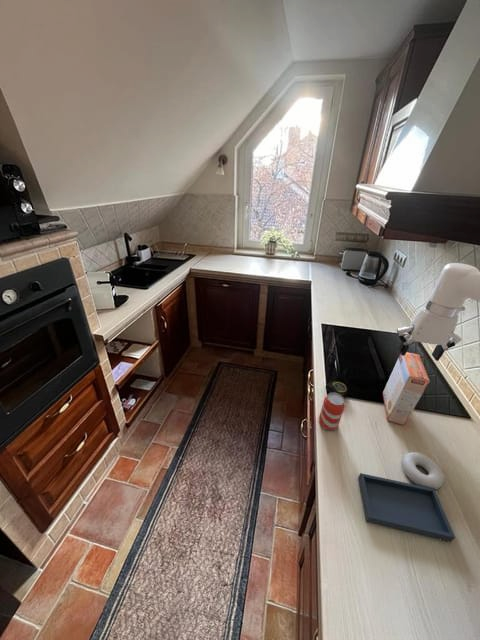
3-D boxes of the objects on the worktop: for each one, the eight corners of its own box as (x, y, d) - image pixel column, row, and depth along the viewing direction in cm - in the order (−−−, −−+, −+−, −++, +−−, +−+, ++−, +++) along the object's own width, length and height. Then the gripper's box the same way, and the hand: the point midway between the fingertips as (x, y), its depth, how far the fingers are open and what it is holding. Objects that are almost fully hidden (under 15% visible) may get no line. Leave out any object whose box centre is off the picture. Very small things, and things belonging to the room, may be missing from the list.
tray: (430, 493, 68) (434, 488, 67) (450, 542, 59) (455, 538, 58) (357, 477, 71) (360, 472, 70) (366, 522, 62) (369, 517, 61)
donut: (414, 451, 78) (392, 463, 75) (419, 444, 77) (396, 456, 73) (448, 483, 70) (425, 498, 67) (454, 476, 69) (430, 491, 65)
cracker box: (405, 426, 86) (431, 381, 75) (386, 420, 88) (408, 375, 77) (399, 397, 97) (420, 354, 86) (382, 392, 99) (401, 349, 88)
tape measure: (323, 389, 99) (325, 382, 97) (337, 385, 102) (339, 378, 100) (335, 402, 94) (337, 395, 92) (349, 397, 96) (352, 390, 94)
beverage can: (327, 434, 83) (335, 409, 76) (314, 418, 88) (321, 394, 81) (341, 427, 85) (350, 403, 79) (328, 413, 90) (336, 388, 84)
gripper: (469, 305, 73) (442, 352, 82) (404, 298, 76) (385, 344, 85) (485, 318, 67) (454, 367, 76) (413, 310, 69) (392, 358, 78)
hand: (418, 355), depth 80 cm, fingers open, 9 cm apart
